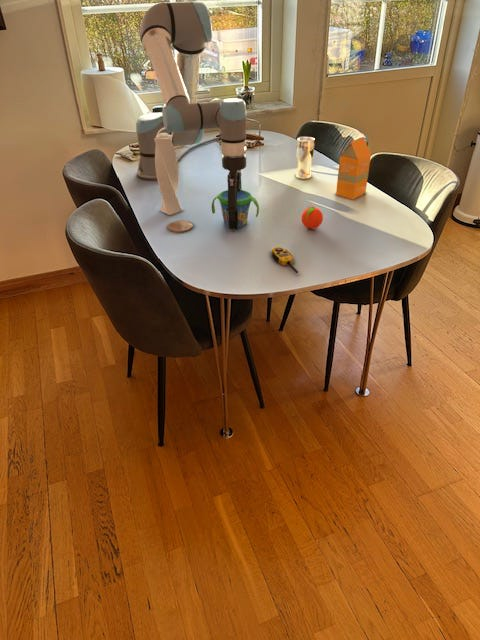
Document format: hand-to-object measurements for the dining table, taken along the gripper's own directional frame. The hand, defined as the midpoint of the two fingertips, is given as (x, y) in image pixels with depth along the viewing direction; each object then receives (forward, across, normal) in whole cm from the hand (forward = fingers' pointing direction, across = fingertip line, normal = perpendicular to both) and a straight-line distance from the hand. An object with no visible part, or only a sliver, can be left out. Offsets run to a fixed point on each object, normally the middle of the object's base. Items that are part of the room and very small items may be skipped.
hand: (235, 222), depth 158 cm
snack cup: (+1, 0, 0) cm, 1 cm away
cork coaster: (+1, -4, +18) cm, 18 cm away
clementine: (+1, -1, -25) cm, 25 cm away
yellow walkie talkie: (+1, -25, -18) cm, 31 cm away
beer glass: (+1, +49, -22) cm, 54 cm away
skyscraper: (+1, +9, +24) cm, 26 cm away
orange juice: (+1, +31, -40) cm, 51 cm away
